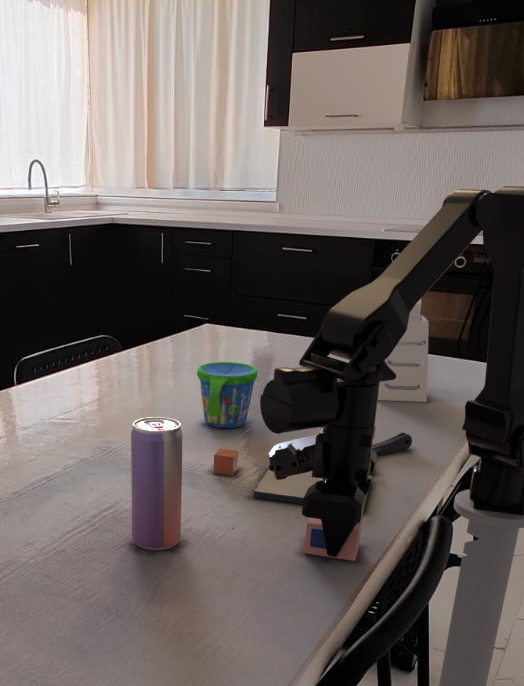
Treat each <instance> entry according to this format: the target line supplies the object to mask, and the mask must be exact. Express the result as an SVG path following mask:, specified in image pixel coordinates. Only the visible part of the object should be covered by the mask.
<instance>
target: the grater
mask: <svg viewBox="0 0 524 686" xmlns="http://www.w3.org/2000/svg"><path fill="white" fill-rule="evenodd" d="M421 311H422V298H421V299H420V300H419V301H418V302H417V303H416V305H415V306H414V308H413V309H412V310H411V312H410V315H409V320H408V326H407V330H406V332H405V334H404V335H403V337H402V338H401V339H400V341H399V342H398V344H397V345H396V347H395V348H394V350H393V351H392V353H391V354H390V355H389V357H388V358H387V359H386V360H385V362H386V364H387V366H388V367H389V368H390V369H391V370H392V371H393V372H394V373H395V374H396V378H395V379H394V380H389V381H382V382H380V386H379V394H378V401H392V402H393V401H394V402H420V403H422V402H423V403H426V402H428V371H429V370H428V369H429V368H428V367H429V327H430V325H429V320H428V319H427V318H426V317H425V316H423V315H422V314H421Z"/></svg>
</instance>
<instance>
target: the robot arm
mask: <svg viewBox="0 0 524 686" xmlns="http://www.w3.org/2000/svg"><path fill="white" fill-rule="evenodd" d="M481 232H482V246H483V248H484V250H485V251H486V254H487V256H488V258H489V261H490V262H491V265H492V267H493V269H494V273H493V284H492V297H491V307H490V308H491V309H490V319H489V320H490V321H489V330H488V342H487V355H486V365H485V375H484V385H483V388H482V389H481V390H480V391H479V393H478V394H477V395H476V397H475V398H474V399H470V400H467V401H466V403H465V405H464V421H463V425H462V429H461V430H462V431H465V438H466V441H467V446H468V447H467V448H468V454H469V455H471V456H476V457H478V458H479V462H478V465H477V464H475V465H474V466H473V469H472V474H471V482H470V485H469V489H470V491H469V498H470V500H472V504H473V508H474V509H478V510H486V511H494V512H501V513H509V514H517V515H524V186H521V185H519V186H517V185H516V186H515V185H513V186H512V185H504V186H501V187H499V188H498V189H496V190H495V191H493V192H492V191H491V190H487V189H465V188H463V189H462V188H460V189H456V190H454V192H450V193H449V194H448V195H447V196H446V197H445V199H444V200H443V201H442V205H441V207H440V209H439V210H438V211H437V212H436V213H435V214H434V216H433V217H431V219H430V220H428V222H427V223H426V224H425V225H424V226H423V228H422V229H421V230H420V231H419V232H418V234H416V235H415V236H414V238H412V240H411V241H410V242H409V243H408V244H407V245H406V246H405V248H404V249H403V250H402V251H401V252H400V253H399V254H398V255H397V256H396V258H395V259H394V260H393V261H392V262H391V263H390V264H388V267H386V269H385V270H384V271H383V272H382V273H381V274H380V275H379V276H378V277H377V278H375V279H374V280H373V281H371V282H370V283H368V284H366V285H364V286H362V287H360V288H358V289H356V290H354V291H351V292H350V293H349V294H347V295H346V296H345V297H344V298H342V299H341V300H340V301H339V302H337V303H336V304H335V305H334V306H332V307H331V308H330V309H329V310H328V312H327V313H326V314H325V316H324V317H323V319H322V322H321V327H320V329H319V330H318V332H317V333H316V335H315V336H314V338H313V339H312V341H311V342H310V344H309V346H308V347H307V348H306V350H305V351H304V353H303V355H302V356H301V358H300V360H299V361H298V364H299V366H295V367H287V366H281V367H275V368H274V370H273V379H271V380H269V381H268V382H267V383H266V385H265V386H264V388H263V391H262V394H260V400H259V407H260V414H261V417H262V418H261V419H262V421H263V422H264V424H265V427H266V428H267V429H268V430H269V431H270V432H271V433H273V434H276V435H277V434H278V435H280V434H286V433H293V432H298V431H305V430H311V429H316V428H318V429H319V428H320V430H319V431H318V432H317V433H316V435H311V436H305V437H299V438H296V439H290V440H287V441H283V442H279V443H277V444H275V445H273V447H271V450H270V451H269V452H268V459H269V465H268V469H269V470H270V471H274V475H275V478H276V479H277V480H282V479H286V477H288V476H293V475H297V474H302V473H307V472H310V471H312V477H314V478H320V480H319V481H320V482H319V481H317V482H316V483H314V484H313V485H312V486H310V487H309V488H308V490H307V492H306V494H305V496H304V498H303V504H302V508H301V515H302V516H304V517H305V518H308V519H309V518H316V519H321V522H322V527H323V533H324V539H325V544H326V550H327V555H328V556H332V557H337V555H338V554H339V552H340V550H341V549H342V547H343V545H344V544H345V542H346V540H347V539H348V537H349V535H350V534H351V532H352V531H353V529H354V527H355V526H356V524H357V523H360V522H361V518H362V519H363V514H364V511H363V510H365V507H364V503H365V496H366V494H367V492H368V490H369V491H370V489H371V485H372V481H373V479H372V480H371V479H369V478H368V476H375V475H374V474H375V470H376V468H377V467H376V466H377V459H378V458H377V457H378V455H377V454H376V453H375V452H374V450H373V449H372V445H373V444H374V443H373V442H374V438H375V435H376V428H377V426H376V425H375V424H376V419H377V410H378V409H377V408H378V402H379V400H378V394H379V386H380V382H382V381H389V380H394V379H395V378H396V374H395V373H394V372H393V371H392V370H391V369H390V368H389V367H388V366H387V364H386V362H385V360H386V359H387V358H388V357H389V355H390V354H391V353H392V351H393V350H394V348H395V347H396V345H397V344H398V342H399V341H400V339H401V338H402V337H403V335H404V334H405V332H406V330H407V326H408V320H409V315H410V312H411V310H412V309H413V308H414V306H415V305H416V303H417V302H418V301H419V300H420V299H421V300H422V298H423V297H424V296H425V294H426V293H428V291H429V290H431V288H432V287H433V286H434V285H435V283H437V281H438V280H439V279H440V278H441V277H442V276H443V275H444V273H446V271H447V270H448V269H450V266H451V265H453V263H455V261H456V260H457V259H458V258H459V257H460V256H461V255H462V253H463V252H464V251H465V250H466V249H467V248H468V247H469V245H470V244H471V243H472V242H473V241H474V240H475V239H476V238H477V237H478V236H479V234H480V233H481ZM330 355H332V356H335V357H338V358H341V359H345V360H348V362H347V361H345V360H341V359H338V358H334V357H331V356H330ZM369 488H370V489H369ZM365 504H366V503H365ZM332 557H331V558H332Z"/></svg>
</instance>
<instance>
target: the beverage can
mask: <svg viewBox="0 0 524 686" xmlns="http://www.w3.org/2000/svg"><path fill="white" fill-rule="evenodd" d="M183 434H184V433H183V431H182V424H181V422H180V421H179V420H177V419H174V418H170V417H162V416H150V417H143V418H139V419H137V420H135V421H134V422H133V423H132V429H131V432H130V467H131V468H130V473H131V474H130V475H131V476H130V479H131V482H130V483H131V484H130V485H131V538H132V540H133V542H134V544H135V545H136V546H137V547H139V548H140V549H143V550H146V551H153V552H157V551H160V552H161V551H166V550H170V549H172V548H174V547H175V546H176V545H178V543H179V542H180V540H181V538H182V495H183V494H182V493H183V492H182V489H183V488H182V487H183V485H182V483H183V436H184V435H183Z"/></svg>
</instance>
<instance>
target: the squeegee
mask: <svg viewBox="0 0 524 686" xmlns="http://www.w3.org/2000/svg"><path fill="white" fill-rule="evenodd" d="M412 444H413V438H412V436H411V435H410V434H408V433H406V432H400V433H398V434H396V435H394V436H392V437H389V438H387V439H385V440H383V441H380V442H376V443H372V449H373V450H374V452H375V453H376V454H377V456H378V455H385V454H390V453H395V452H401V451H402V452H403V451H405V450H408V449H410V447H411V446H412Z"/></svg>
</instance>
